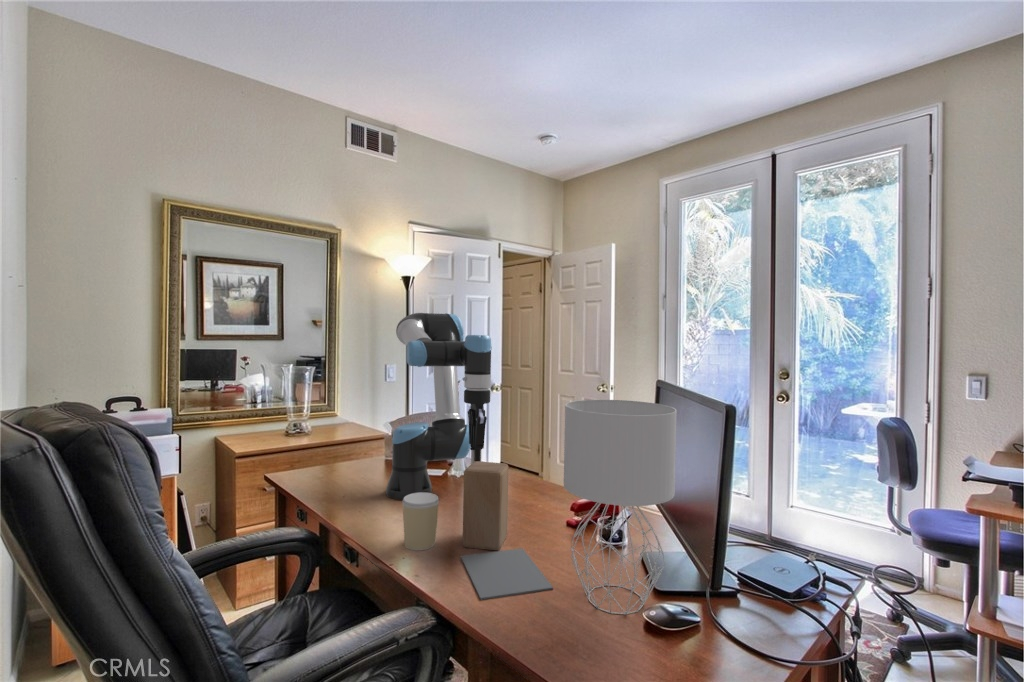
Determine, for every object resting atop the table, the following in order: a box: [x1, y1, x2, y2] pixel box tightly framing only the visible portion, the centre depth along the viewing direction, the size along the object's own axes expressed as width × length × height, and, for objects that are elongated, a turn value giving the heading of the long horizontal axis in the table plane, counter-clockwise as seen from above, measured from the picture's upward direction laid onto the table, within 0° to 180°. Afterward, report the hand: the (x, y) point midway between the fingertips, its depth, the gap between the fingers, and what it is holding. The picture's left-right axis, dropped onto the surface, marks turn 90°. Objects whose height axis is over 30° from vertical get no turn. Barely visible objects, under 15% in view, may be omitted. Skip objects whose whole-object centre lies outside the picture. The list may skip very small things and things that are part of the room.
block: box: [462, 461, 510, 551], centre depth 128 cm, size 10×10×20 cm
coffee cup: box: [401, 492, 440, 551], centre depth 126 cm, size 9×9×12 cm
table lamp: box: [563, 399, 678, 616], centre depth 101 cm, size 22×22×40 cm
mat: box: [460, 547, 554, 601], centre depth 112 cm, size 20×16×1 cm
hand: (475, 471), depth 140 cm, fingers closed
